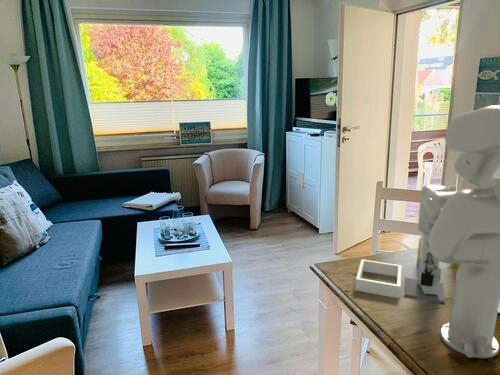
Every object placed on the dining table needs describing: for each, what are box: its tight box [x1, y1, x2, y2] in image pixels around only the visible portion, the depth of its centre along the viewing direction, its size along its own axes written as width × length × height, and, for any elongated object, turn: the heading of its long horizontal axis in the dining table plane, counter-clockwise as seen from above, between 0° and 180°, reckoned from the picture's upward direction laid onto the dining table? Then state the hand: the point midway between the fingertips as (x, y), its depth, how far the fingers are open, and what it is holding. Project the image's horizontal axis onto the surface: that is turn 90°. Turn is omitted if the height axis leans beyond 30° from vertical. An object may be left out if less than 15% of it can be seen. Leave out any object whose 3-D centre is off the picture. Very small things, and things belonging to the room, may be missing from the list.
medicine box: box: [417, 258, 442, 295], centre depth 113 cm, size 8×4×9 cm, turn 170°
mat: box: [404, 277, 446, 304], centre depth 114 cm, size 11×11×1 cm
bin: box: [354, 259, 402, 299], centre depth 119 cm, size 15×13×4 cm
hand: (425, 278), depth 113 cm, fingers closed on medicine box, 8 cm apart
